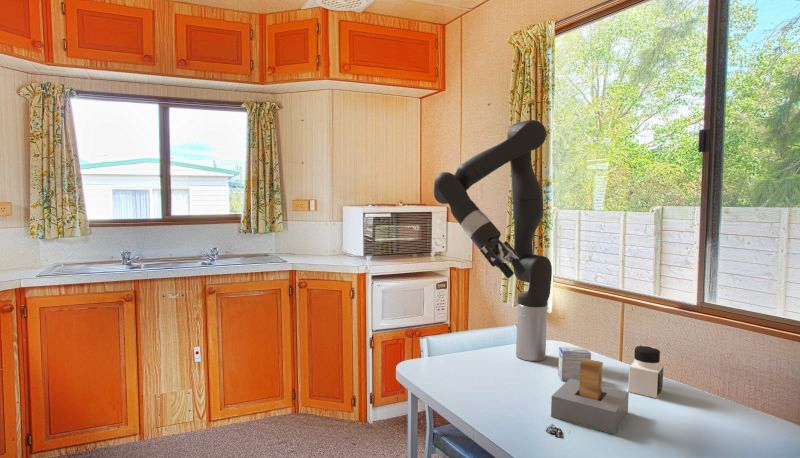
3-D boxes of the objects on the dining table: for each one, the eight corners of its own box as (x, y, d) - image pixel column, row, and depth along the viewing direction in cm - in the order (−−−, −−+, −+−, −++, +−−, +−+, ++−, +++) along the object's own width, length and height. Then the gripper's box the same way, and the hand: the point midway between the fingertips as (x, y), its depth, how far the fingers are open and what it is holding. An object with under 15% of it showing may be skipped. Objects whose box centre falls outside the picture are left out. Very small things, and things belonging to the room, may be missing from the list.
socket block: (569, 397, 126) (570, 378, 126) (627, 412, 118) (628, 391, 117) (550, 416, 115) (551, 395, 114) (614, 434, 106) (615, 412, 106)
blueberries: (562, 426, 111) (561, 418, 111) (581, 441, 104) (581, 432, 104) (534, 429, 110) (534, 420, 110) (552, 444, 102) (552, 435, 102)
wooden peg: (583, 406, 119) (585, 358, 118) (600, 411, 116) (602, 362, 116) (578, 412, 116) (580, 362, 115) (596, 417, 113) (598, 366, 113)
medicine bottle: (657, 399, 126) (659, 353, 125) (627, 392, 130) (629, 347, 129) (662, 390, 131) (664, 347, 131) (633, 384, 136) (635, 341, 135)
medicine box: (585, 376, 141) (587, 347, 140) (590, 382, 136) (591, 352, 136) (557, 375, 142) (558, 346, 141) (561, 381, 137) (562, 351, 137)
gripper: (477, 221, 130) (517, 268, 124) (500, 220, 142) (537, 262, 136) (459, 240, 134) (497, 286, 128) (483, 237, 145) (518, 279, 139)
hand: (517, 274), depth 132 cm, fingers open, 8 cm apart
